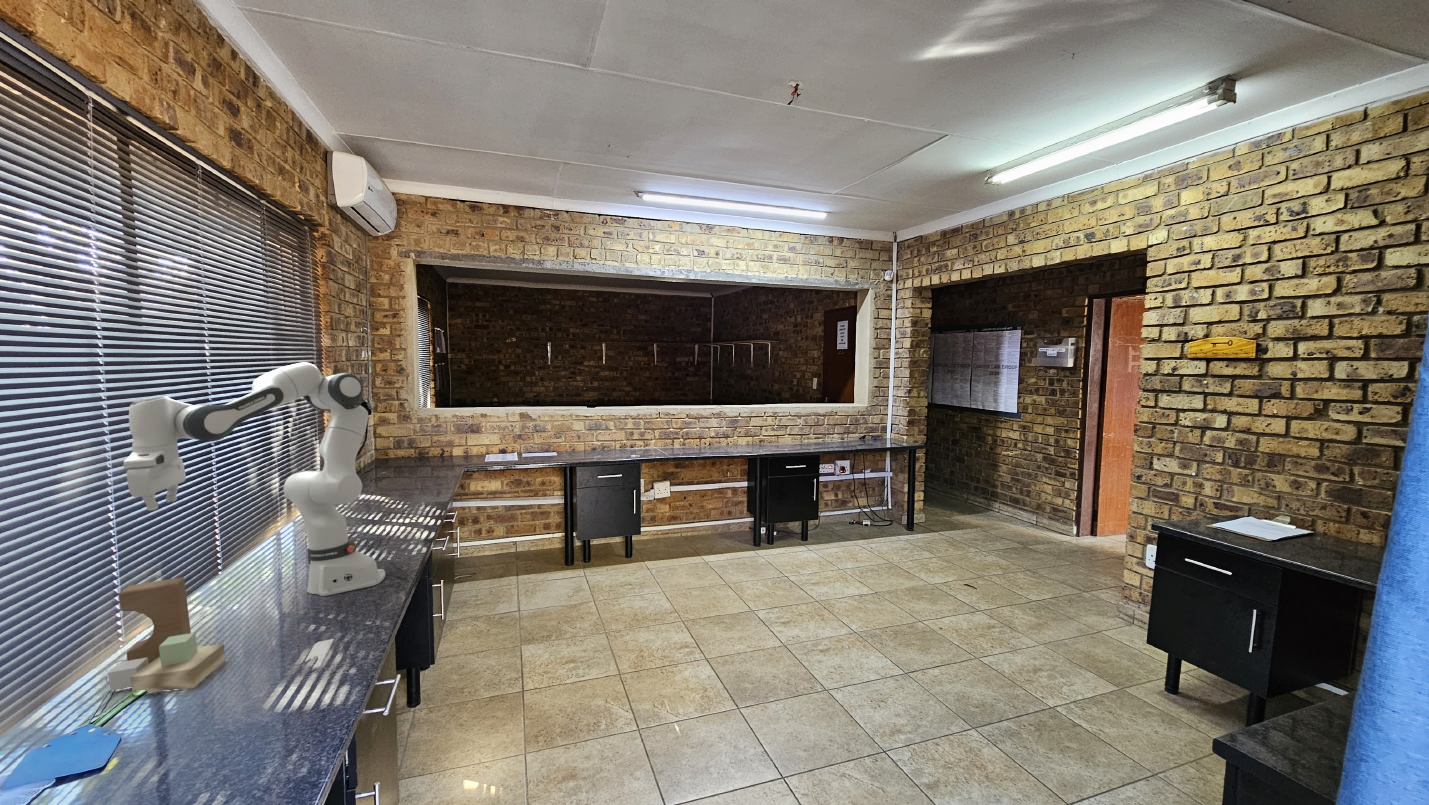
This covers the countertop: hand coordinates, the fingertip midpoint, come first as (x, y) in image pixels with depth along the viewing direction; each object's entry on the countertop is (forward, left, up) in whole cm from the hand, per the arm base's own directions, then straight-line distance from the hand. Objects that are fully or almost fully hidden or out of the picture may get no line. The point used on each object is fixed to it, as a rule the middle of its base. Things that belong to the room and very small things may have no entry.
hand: (162, 505), depth 157 cm
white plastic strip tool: (-40, +30, -38) cm, 63 cm away
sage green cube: (-12, +28, -32) cm, 45 cm away
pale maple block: (-12, +28, -38) cm, 49 cm away
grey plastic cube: (-2, +27, -37) cm, 46 cm away
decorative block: (-3, +15, -37) cm, 40 cm away
